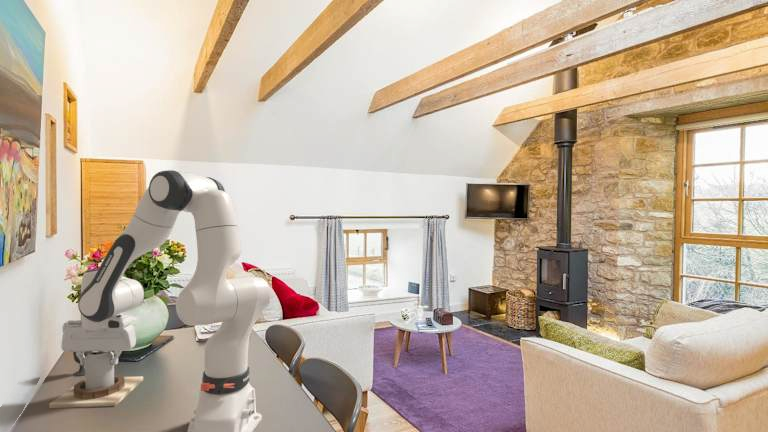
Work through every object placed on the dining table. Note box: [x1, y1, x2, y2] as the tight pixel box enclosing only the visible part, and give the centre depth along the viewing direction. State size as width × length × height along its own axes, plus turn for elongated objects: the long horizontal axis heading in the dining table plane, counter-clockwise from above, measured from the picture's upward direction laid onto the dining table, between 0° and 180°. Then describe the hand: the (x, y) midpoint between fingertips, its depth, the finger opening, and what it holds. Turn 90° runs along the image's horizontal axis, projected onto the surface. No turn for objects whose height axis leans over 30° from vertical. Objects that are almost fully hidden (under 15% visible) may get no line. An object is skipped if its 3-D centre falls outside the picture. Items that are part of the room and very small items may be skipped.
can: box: [84, 351, 115, 390], centre depth 135 cm, size 8×8×12 cm
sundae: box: [72, 351, 89, 377], centre depth 149 cm, size 7×7×15 cm
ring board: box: [48, 373, 144, 409], centre depth 135 cm, size 18×18×3 cm
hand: (99, 364), depth 134 cm, fingers closed on can, 7 cm apart
